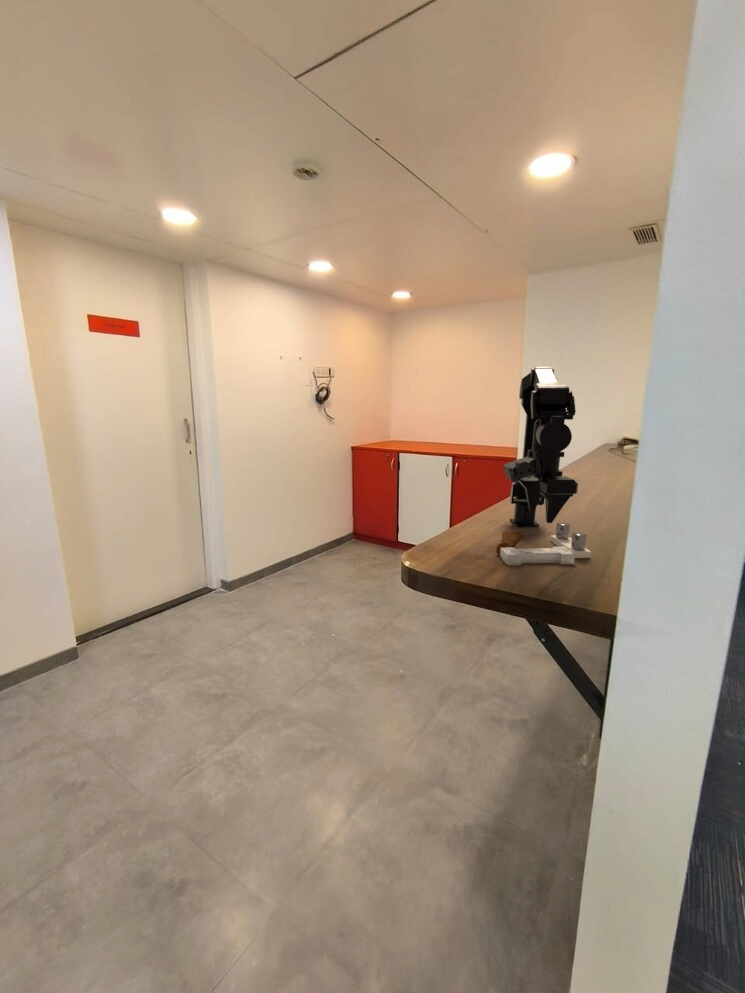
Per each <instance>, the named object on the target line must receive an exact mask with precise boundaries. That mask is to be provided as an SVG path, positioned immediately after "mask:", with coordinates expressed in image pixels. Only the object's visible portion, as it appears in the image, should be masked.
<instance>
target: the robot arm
mask: <svg viewBox="0 0 745 993" xmlns="http://www.w3.org/2000/svg"><path fill="white" fill-rule="evenodd" d="M518 398H519V400H521V402H520V404H521V407H522V408H523V410H524V413H525V415H526V416H525V427H524V437H523V439H524V440H523V447H522V448H523V451H522V457H521V458H518V459H516V460H512V461H509V462H507V463H504V464H503V470H504V473H505V477H506V480H510V482H512V483H511V488H510V496H509V498H510V499H509V500H510V504H511V505H513V504H514V512H513V513H514V515H513V518H509V521H510V522H511V523H512V524H514V526H516V527H519V528H521V527H525V528H526V527H540V523H537V521H536V514H537V513H536V512H537V507H538V506H543V505H544V504H545V505H544V506H545V521H546V523H547V524H552V523H554V521H555V519H556V517H557V516H558V515H559V513H560V511H561V510H562V508H564V505H565V504H566V503H567V502H568V501H569V499H570V498H571V497H574V495H576V494H578V489H579V484H578V482H577V481H576V480H575V479H573V478H571V477H568V476H563V471H562V470H560V464H561V463H560V462H561V458H564V457H565V451H564V450H565V449H567V448H568V447H569V446H570V444H571V442H572V438H573V433H572V431H571V429H570V427H569V426H568V425H567V424H566V423H565V420H567V421H568V420H570V421H571V420H573V419H574V416H575V415H576V412H577V411H576V410H577V408H576V404H575V403H576V402H575V396H574V395H573V391H572V390H570V387H569V385H567V384H566V383H563V382H558V380H557V377H555V369H554V367H551V366H535V367H532V368H531V369H530V372H529V373H528V374H527V375H525V376H524V377H522V379H521V382H520V387H519V397H518Z"/></svg>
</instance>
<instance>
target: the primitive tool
mask: <svg viewBox="0 0 745 993" xmlns="http://www.w3.org/2000/svg"><path fill="white" fill-rule="evenodd" d="M524 535H525V534H524V533H522V532H521V531H514V532H513V531H502V538H501V543H499V544H497V546H496V548H495V551H496V554H497V555H498V556H500V549H501V548H506V547H512V546H513V547H514V545H515V544H516V543H518V542H519V540H520V539H521V538H524Z"/></svg>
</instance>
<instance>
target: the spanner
mask: <svg viewBox="0 0 745 993" xmlns="http://www.w3.org/2000/svg"><path fill="white" fill-rule="evenodd" d="M500 557H501V558H502V559H501V558H500ZM499 558H500V559H501V561H503V562H504V563H505V565H506V564H507V566H521V564H537V563H538V564H539V563H540V564H542V563H543V564H545V563H546V564H548V563H549V564H550V563H551V564H553V563H558V564H560V565H574V564H575V559H576V558H575V554H574V553H573V552H572V551H570V550H569V549H567V548H566V547H558V546H552V547H550V548H548V547H547V548H545V547H544V548H541V547H540V548H515V547H514V546H513V547H506V548H501V549H500V555H499Z"/></svg>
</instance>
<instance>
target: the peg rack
mask: <svg viewBox="0 0 745 993" xmlns="http://www.w3.org/2000/svg"><path fill="white" fill-rule="evenodd" d="M570 528H571V524H570V523H567V522H561V521H560V522H557V523H556V530H555V531H556V532H555V534H553V535H550V538H549V540H550V542H551V543H552V544H554V545H555V547H566V548H567V549H569V550H570V551H572V552H573V553H574V554H575V559H586V558H587V559H590V558H591V553H592V551H591V550H589V549H588V548H586V545H587V536H588V535H587V534H586V533H584V532H578V531H577V532H576V531H575V532H572V537H570V531H571V530H570Z"/></svg>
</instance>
